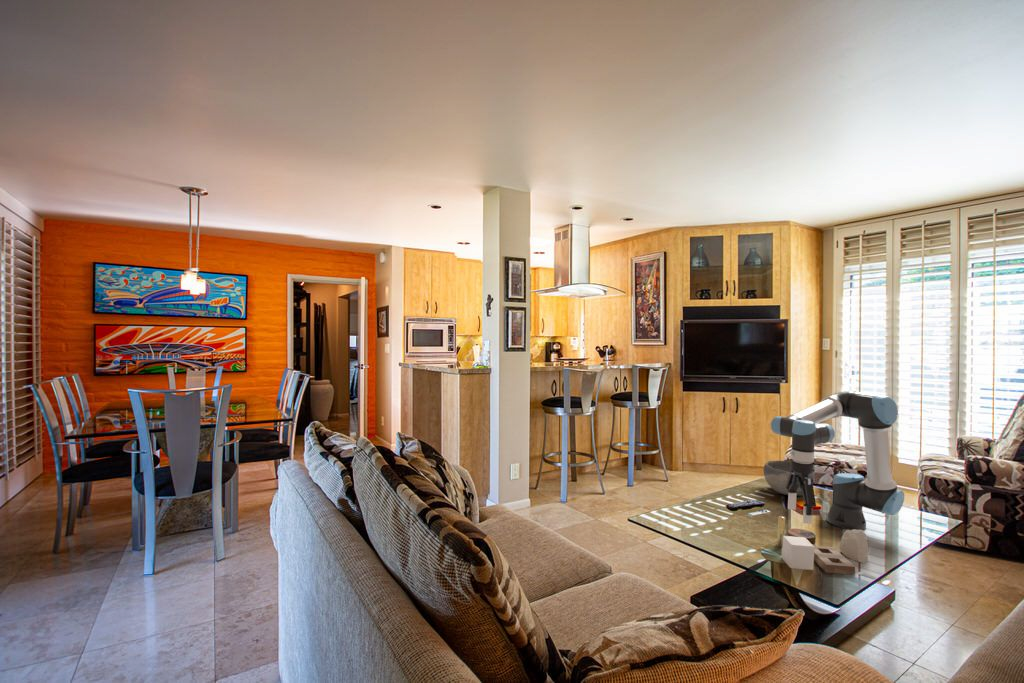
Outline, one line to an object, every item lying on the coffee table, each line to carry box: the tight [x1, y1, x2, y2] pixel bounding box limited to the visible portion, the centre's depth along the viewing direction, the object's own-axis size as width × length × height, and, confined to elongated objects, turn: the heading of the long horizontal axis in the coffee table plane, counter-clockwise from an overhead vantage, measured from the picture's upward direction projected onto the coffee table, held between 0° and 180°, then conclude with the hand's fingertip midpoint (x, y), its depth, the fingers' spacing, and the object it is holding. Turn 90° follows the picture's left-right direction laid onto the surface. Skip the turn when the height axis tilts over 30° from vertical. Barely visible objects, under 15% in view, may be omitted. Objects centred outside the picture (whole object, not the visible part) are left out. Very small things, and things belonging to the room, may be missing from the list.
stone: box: [838, 529, 870, 563], centre depth 198 cm, size 10×5×12 cm, turn 19°
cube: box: [781, 535, 815, 571], centre depth 192 cm, size 8×8×9 cm
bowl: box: [763, 460, 815, 497], centre depth 273 cm, size 24×24×15 cm
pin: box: [776, 515, 786, 548], centre depth 207 cm, size 3×3×12 cm
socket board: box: [813, 545, 856, 575], centre depth 193 cm, size 16×10×3 cm, turn 172°
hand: (799, 516), depth 191 cm, fingers open, 13 cm apart
